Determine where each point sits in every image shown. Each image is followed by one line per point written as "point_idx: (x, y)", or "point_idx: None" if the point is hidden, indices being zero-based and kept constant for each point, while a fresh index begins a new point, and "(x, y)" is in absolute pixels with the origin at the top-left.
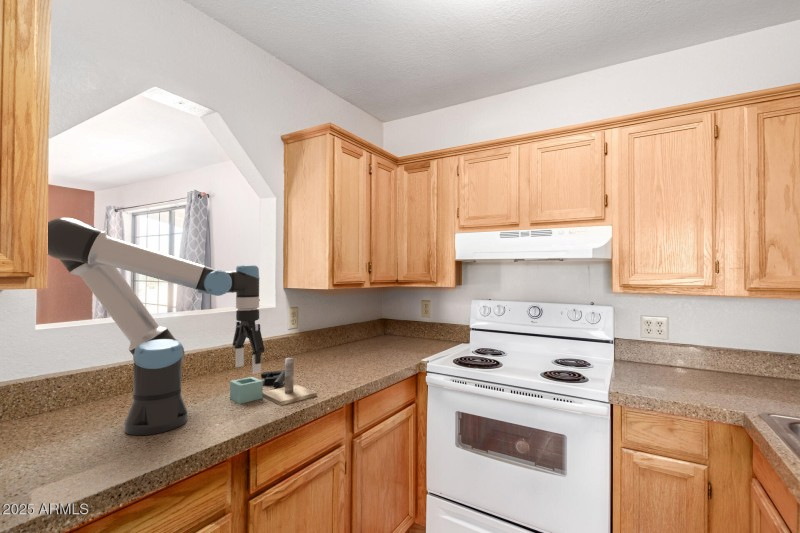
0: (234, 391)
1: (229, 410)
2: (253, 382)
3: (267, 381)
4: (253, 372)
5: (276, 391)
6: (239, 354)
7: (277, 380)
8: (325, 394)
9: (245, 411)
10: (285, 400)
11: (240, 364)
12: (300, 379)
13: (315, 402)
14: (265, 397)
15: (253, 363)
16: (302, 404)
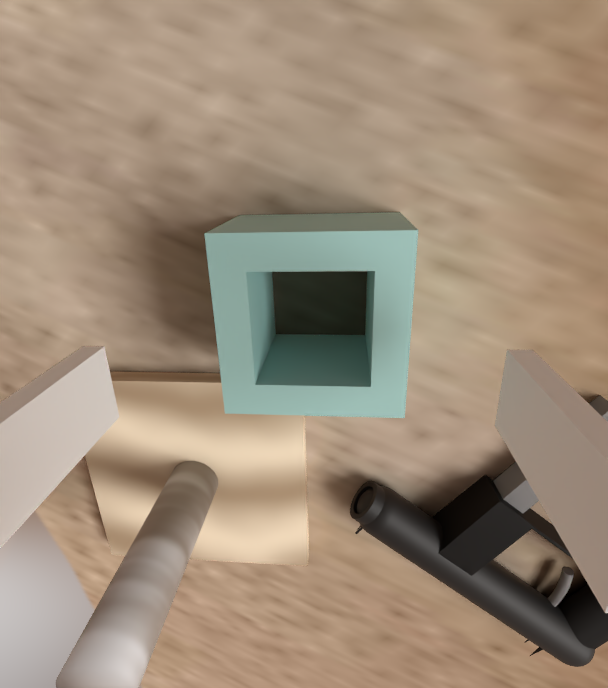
0: (319, 222)
1: (152, 111)
2: (231, 352)
3: (480, 502)
4: (75, 354)
5: (256, 447)
6: (567, 472)
7: (379, 528)
8: None
9: (79, 185)
10: None
11: (507, 403)
12: (429, 628)
13: None
14: None
15: (5, 400)
16: None
